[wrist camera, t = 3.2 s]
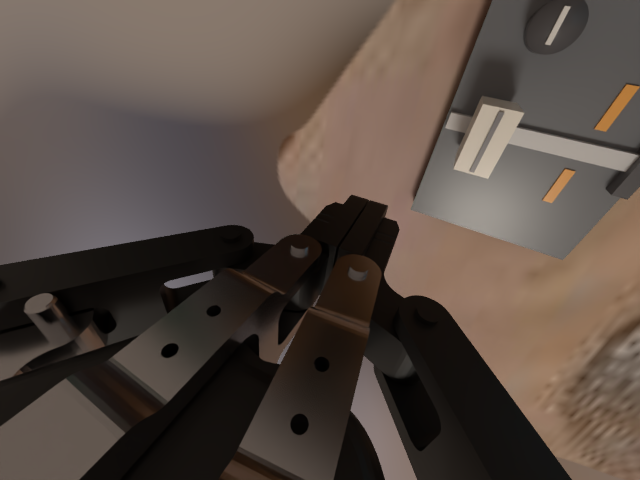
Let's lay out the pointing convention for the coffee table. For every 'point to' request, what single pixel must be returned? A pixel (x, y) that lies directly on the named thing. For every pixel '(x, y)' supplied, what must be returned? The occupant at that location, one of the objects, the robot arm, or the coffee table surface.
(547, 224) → the console board
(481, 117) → the fader cap
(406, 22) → the coffee table surface
